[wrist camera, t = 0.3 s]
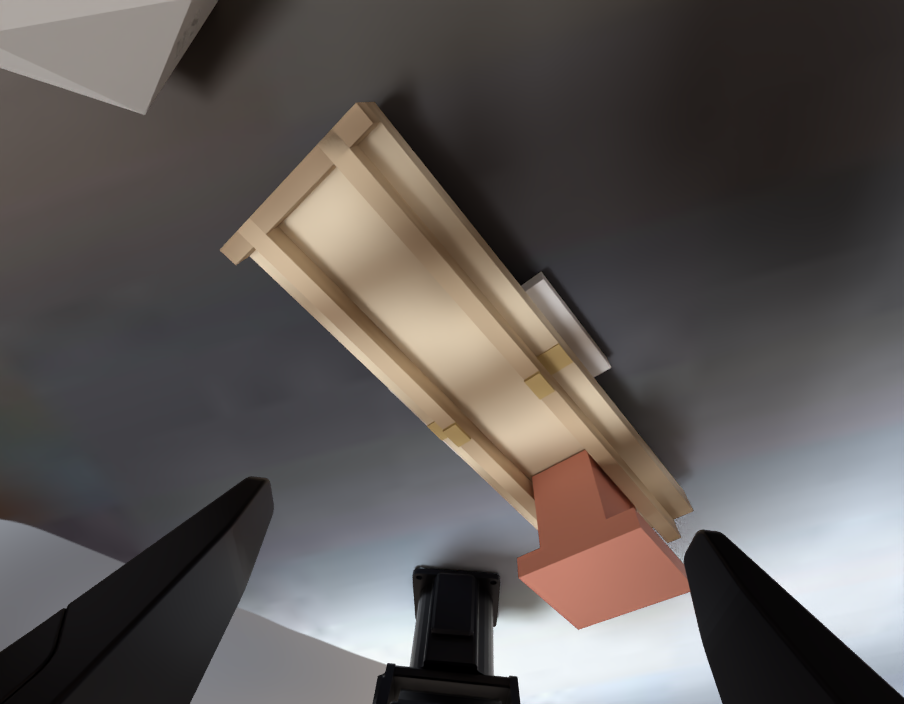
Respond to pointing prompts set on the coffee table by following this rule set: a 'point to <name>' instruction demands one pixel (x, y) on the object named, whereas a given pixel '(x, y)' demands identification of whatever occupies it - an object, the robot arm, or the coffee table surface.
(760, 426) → the coffee table surface
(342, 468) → the coffee table surface
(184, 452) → the coffee table surface
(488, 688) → the robot arm
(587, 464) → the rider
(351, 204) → the beam
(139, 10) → the die
